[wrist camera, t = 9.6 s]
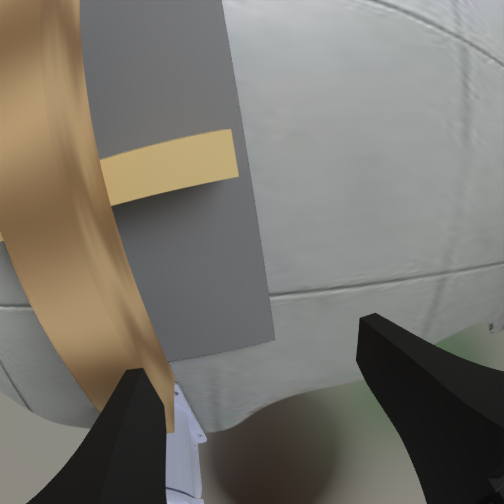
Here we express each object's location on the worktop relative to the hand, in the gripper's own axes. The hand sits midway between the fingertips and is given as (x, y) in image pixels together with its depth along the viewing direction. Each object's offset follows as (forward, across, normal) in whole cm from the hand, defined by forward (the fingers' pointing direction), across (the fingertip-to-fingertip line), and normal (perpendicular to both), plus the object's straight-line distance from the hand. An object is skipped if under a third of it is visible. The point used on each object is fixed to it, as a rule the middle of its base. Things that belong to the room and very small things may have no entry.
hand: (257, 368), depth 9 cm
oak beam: (+5, +6, -6) cm, 10 cm away
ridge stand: (+10, +6, -6) cm, 13 cm away
